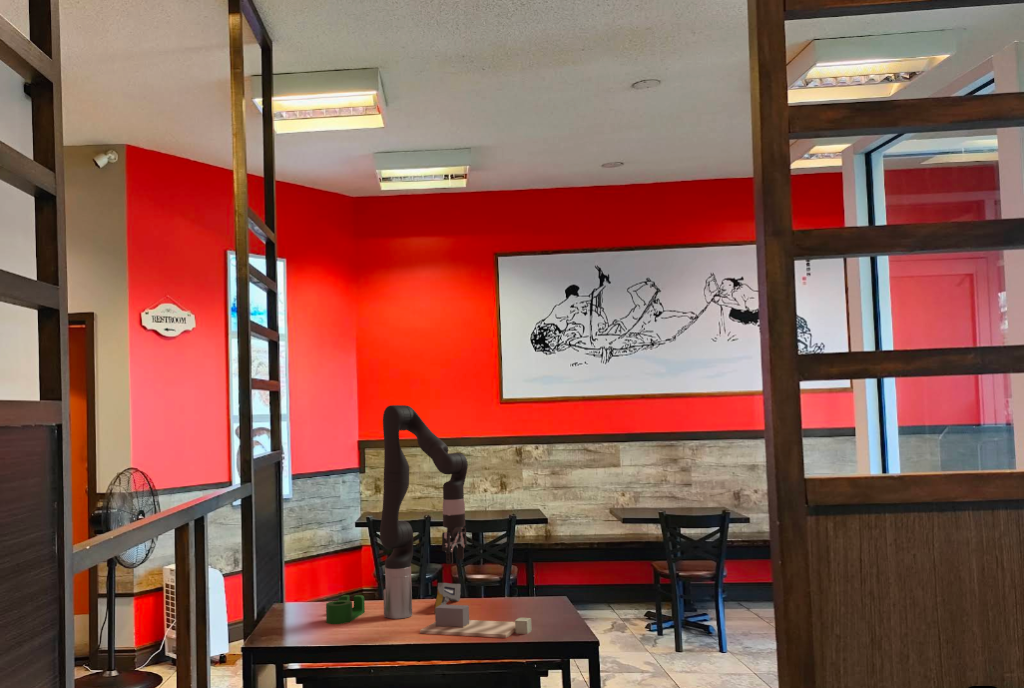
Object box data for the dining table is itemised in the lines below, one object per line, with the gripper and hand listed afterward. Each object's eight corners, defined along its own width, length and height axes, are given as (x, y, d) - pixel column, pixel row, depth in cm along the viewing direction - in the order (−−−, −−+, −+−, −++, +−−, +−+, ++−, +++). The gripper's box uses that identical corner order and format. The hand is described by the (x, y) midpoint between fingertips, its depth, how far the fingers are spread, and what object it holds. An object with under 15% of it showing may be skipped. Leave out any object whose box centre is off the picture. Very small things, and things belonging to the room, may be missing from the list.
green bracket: (346, 624, 274) (346, 605, 275) (322, 624, 275) (322, 605, 276) (364, 612, 292) (364, 594, 292) (341, 612, 293) (341, 595, 294)
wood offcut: (515, 633, 252) (515, 620, 252) (519, 630, 255) (519, 617, 256) (527, 634, 250) (527, 621, 251) (531, 631, 254) (531, 618, 255)
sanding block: (435, 626, 261) (435, 607, 262) (442, 622, 266) (441, 604, 266) (463, 627, 258) (462, 608, 258) (469, 624, 262) (468, 605, 263)
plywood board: (420, 633, 257) (419, 630, 257) (441, 621, 272) (441, 618, 272) (506, 637, 246) (506, 634, 246) (523, 625, 261) (523, 622, 261)
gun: (459, 624, 303) (462, 584, 310) (438, 613, 282) (442, 570, 289) (451, 624, 304) (454, 584, 311) (430, 613, 283) (434, 570, 290)
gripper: (452, 510, 276) (454, 557, 274) (434, 514, 263) (435, 564, 261) (472, 510, 273) (473, 558, 271) (454, 514, 260) (456, 565, 258)
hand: (455, 561), depth 266 cm, fingers open, 8 cm apart
